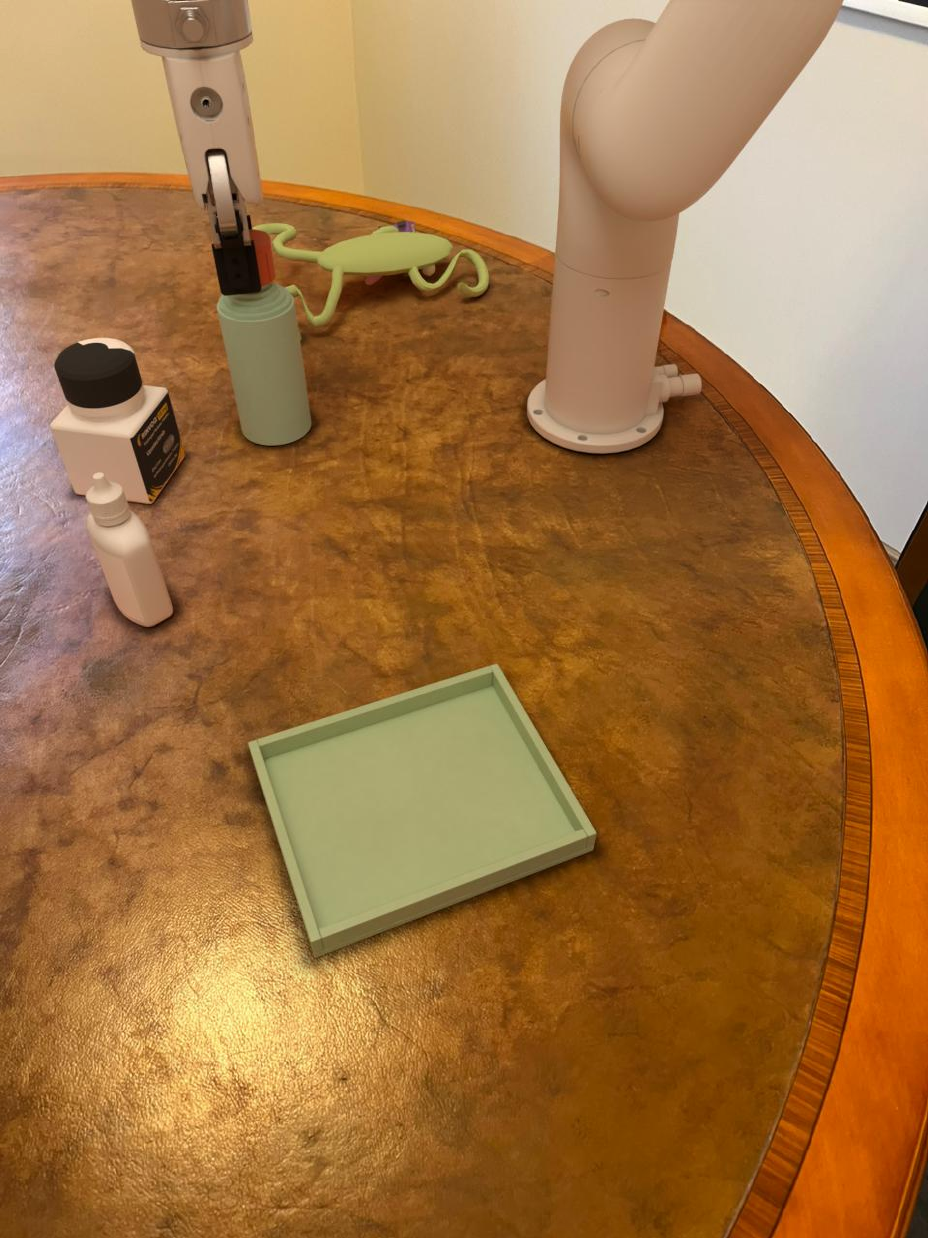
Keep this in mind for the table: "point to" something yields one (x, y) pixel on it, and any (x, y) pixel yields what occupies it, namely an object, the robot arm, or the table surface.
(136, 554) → the eye dropper bottle
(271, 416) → the bottle
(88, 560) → the table surface
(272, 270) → the cap
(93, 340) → the medicine bottle
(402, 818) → the tray
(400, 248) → the figurine
